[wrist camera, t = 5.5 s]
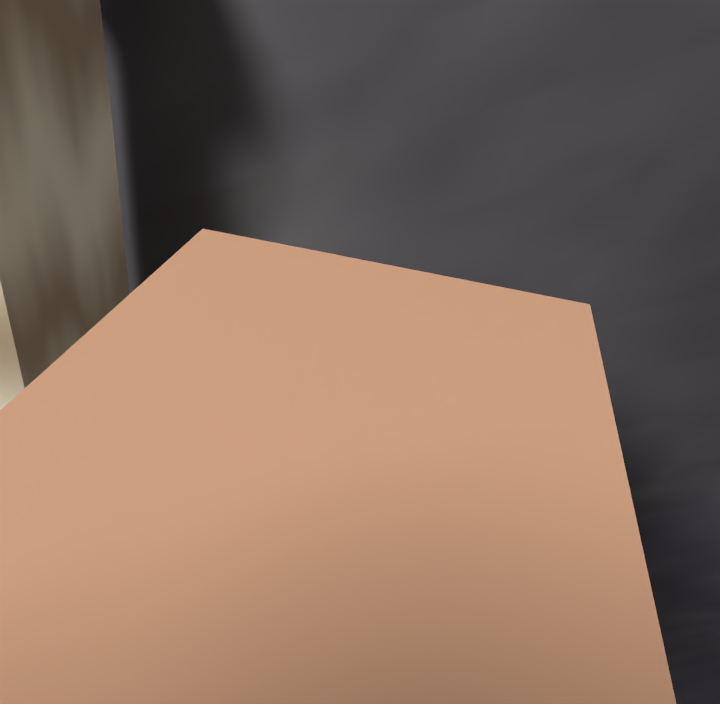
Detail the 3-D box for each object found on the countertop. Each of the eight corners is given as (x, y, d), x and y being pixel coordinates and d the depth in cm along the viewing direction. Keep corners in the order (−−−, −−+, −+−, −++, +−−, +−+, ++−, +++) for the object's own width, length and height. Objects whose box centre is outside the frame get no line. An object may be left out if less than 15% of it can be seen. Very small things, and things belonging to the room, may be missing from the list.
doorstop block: (481, 602, 11) (455, 1133, 6) (209, 535, 12) (-19, 973, 7) (589, 303, 8) (727, 935, 3) (202, 228, 8) (-263, 646, 3)
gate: (146, 462, 23) (66, 574, 19) (120, 456, 23) (36, 566, 19) (95, -41, 14) (-71, -36, 10) (55, -48, 15) (-126, -44, 10)
